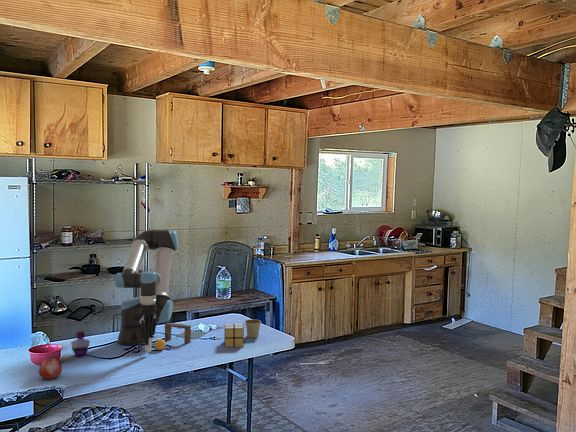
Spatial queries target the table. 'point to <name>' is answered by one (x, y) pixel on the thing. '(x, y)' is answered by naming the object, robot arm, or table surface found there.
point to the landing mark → (193, 334)
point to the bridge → (186, 327)
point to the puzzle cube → (234, 335)
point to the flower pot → (252, 327)
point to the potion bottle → (80, 344)
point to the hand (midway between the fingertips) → (148, 350)
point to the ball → (159, 344)
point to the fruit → (50, 368)
